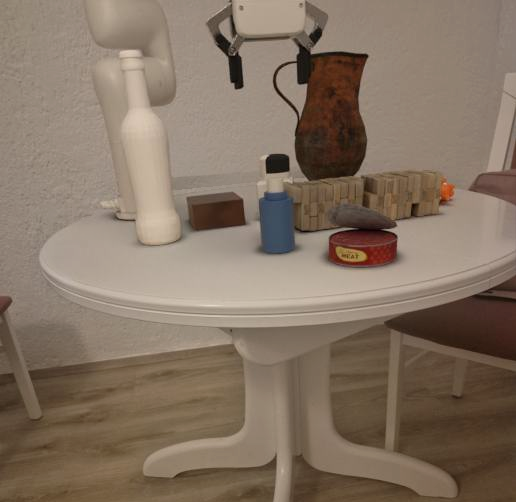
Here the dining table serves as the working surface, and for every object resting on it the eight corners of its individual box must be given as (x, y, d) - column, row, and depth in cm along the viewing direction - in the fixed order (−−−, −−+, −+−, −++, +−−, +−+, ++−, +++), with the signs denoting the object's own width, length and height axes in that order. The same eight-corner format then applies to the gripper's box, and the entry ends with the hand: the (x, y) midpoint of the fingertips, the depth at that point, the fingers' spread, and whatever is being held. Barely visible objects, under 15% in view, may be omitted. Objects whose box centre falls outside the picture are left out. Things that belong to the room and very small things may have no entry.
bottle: (190, 234, 91) (165, 49, 77) (169, 246, 84) (138, 46, 70) (152, 234, 93) (122, 54, 80) (129, 245, 87) (92, 51, 73)
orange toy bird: (411, 170, 105) (442, 177, 95) (440, 178, 108) (472, 186, 97) (403, 193, 107) (432, 202, 97) (431, 201, 110) (462, 211, 99)
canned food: (326, 285, 74) (306, 224, 74) (382, 268, 77) (363, 208, 76) (359, 271, 63) (335, 198, 63) (423, 251, 66) (400, 181, 65)
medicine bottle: (294, 210, 104) (292, 151, 98) (293, 218, 98) (291, 155, 92) (261, 212, 105) (258, 153, 99) (258, 219, 98) (254, 157, 93)
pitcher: (372, 198, 111) (378, 45, 97) (280, 205, 111) (272, 54, 97) (358, 186, 125) (361, 53, 112) (276, 193, 126) (270, 60, 112)
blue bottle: (266, 255, 75) (262, 182, 70) (258, 247, 80) (253, 177, 75) (299, 250, 76) (297, 178, 71) (289, 242, 81) (286, 174, 76)
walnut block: (195, 230, 93) (192, 204, 91) (189, 220, 102) (186, 196, 100) (245, 224, 95) (243, 198, 93) (235, 215, 104) (233, 191, 102)
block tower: (416, 211, 99) (281, 224, 93) (420, 168, 95) (280, 178, 89) (438, 218, 92) (294, 233, 86) (444, 172, 88) (294, 184, 82)
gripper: (315, -56, 67) (318, 84, 75) (193, -53, 64) (208, 92, 71) (337, -75, 60) (337, 80, 68) (201, -73, 57) (217, 89, 65)
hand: (271, 86), depth 70 cm, fingers open, 9 cm apart
